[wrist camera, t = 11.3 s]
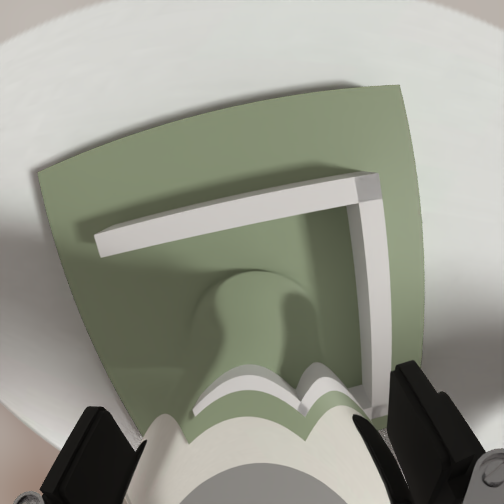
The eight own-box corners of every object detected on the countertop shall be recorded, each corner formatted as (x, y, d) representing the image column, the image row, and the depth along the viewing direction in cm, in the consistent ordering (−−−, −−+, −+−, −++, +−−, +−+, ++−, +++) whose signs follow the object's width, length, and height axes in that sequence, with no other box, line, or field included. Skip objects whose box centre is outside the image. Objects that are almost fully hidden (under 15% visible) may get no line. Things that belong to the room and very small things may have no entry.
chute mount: (383, 92, 14) (419, 75, 10) (404, 400, 19) (424, 438, 15) (57, 170, 15) (13, 175, 11) (163, 440, 20) (151, 480, 17)
